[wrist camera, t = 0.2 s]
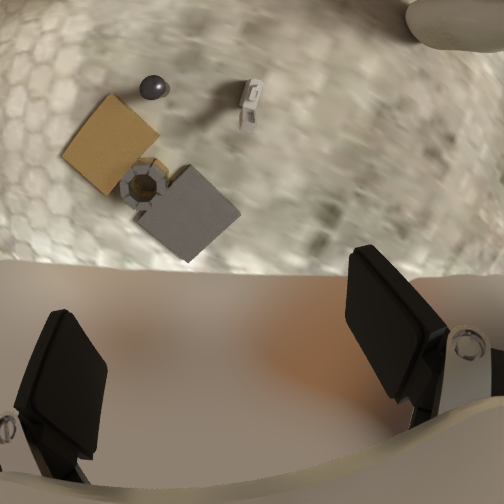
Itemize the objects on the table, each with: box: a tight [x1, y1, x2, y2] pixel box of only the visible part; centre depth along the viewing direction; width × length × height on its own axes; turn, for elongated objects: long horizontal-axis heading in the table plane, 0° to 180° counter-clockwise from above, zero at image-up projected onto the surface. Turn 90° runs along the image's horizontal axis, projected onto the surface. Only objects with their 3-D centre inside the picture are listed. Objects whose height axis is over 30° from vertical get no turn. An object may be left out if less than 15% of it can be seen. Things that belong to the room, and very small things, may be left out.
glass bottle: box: [405, 0, 504, 53], centre depth 21 cm, size 10×10×28 cm
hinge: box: [62, 93, 241, 263], centre depth 39 cm, size 27×12×5 cm, turn 41°
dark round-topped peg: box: [140, 75, 170, 100], centre depth 31 cm, size 3×3×9 cm
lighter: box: [239, 78, 264, 133], centre depth 35 cm, size 7×2×8 cm, turn 163°
